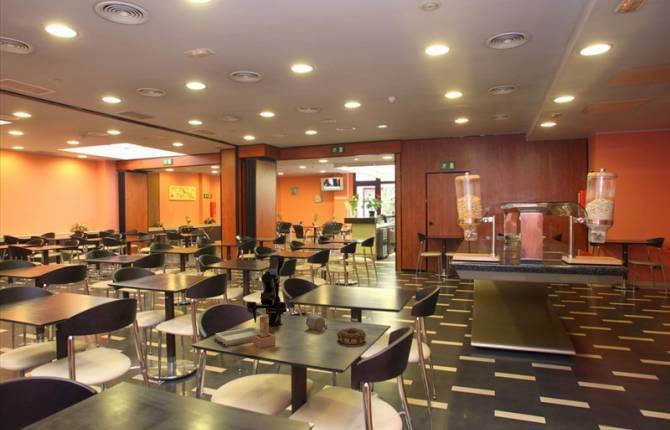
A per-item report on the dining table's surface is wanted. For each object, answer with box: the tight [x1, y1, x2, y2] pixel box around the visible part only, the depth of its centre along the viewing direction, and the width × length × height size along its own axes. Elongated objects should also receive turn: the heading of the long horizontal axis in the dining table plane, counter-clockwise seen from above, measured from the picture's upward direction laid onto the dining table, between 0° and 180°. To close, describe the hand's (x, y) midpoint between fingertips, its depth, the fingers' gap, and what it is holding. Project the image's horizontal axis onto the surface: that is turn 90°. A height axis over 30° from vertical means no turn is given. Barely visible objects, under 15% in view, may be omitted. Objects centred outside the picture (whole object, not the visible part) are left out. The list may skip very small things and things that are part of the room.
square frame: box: [252, 332, 276, 349], centre depth 195 cm, size 8×8×4 cm
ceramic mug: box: [305, 312, 328, 332], centre depth 221 cm, size 11×8×8 cm
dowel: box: [259, 316, 270, 338], centre depth 195 cm, size 4×4×12 cm
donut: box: [336, 327, 367, 345], centre depth 202 cm, size 14×14×5 cm
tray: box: [215, 326, 260, 347], centre depth 204 cm, size 20×14×2 cm
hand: (264, 322), depth 197 cm, fingers open, 9 cm apart
